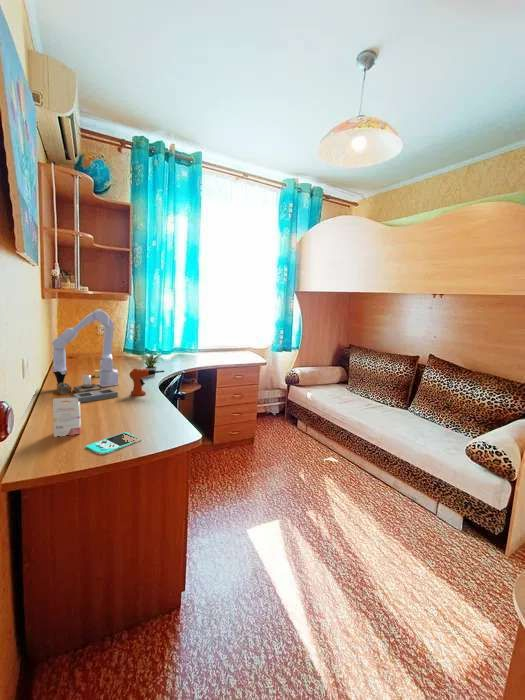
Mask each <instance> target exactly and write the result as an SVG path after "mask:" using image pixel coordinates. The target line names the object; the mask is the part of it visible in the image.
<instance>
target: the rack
mask: <svg viewBox="0 0 525 700" xmlns="http://www.w3.org/2000/svg"><path fill="white" fill-rule="evenodd" d="M118 395H119V392H118V391H116V390H115V389H113V388H105V389H101V390H97V391H91V392H84V393H74V394H73V398H76V397H77V398H78V402H80V404H82V402H83V403H88V402H94V401H101V400H106V399H107V400H108V399H113V398H118Z"/></svg>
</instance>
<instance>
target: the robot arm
mask: <svg viewBox="0 0 525 700" xmlns="http://www.w3.org/2000/svg"><path fill="white" fill-rule="evenodd" d="M96 321H97V322H99V323H100V324H101V325H102V326H103V340H102V341H103V344H102V354H101V358H100V360H99V365H100V369H99V370H100V377H99V382H98V383H96V385H97V386H99V387H100V388H106V387H113V386H119V371H118V369H116V368H115V369H114V367H115V365H114V362H113V345H114V344H113V343H114V342H113V341H114V328H115V324H114V322H113V320H112V319H111V317H110V316H109V314H108V313H107V312H106V311H104V310H103V309H99V308H98V309H95V310H93V312H90V313H89V314H87V315H86V316H85V317H83V318H82V319H81V320H80V321H79V322H78V323H76V325H74V326H73V327H68V328H65V329H64V331H63V332H62V333H61V334H60V335H57V337H56V338H54V339H53V341H52V346H53V349H52V359H53V360H52V361H53V365H52V366H53V368H50V370H51V371H53V372H52V373H53V374H54V377H55V379H56V384H59V383H65V382H64V381H65V378H66V375H67V356H66V355H67V354H66V347H67V344H69V343H71V342H72V341H73V340H74V339H76V338H77V337H78V334H79V332H80V331H81V330H82V329H83V328H85V327H86V326H88V325H89V324H90V323H96Z"/></svg>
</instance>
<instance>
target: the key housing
mask: <svg viewBox="0 0 525 700" xmlns="http://www.w3.org/2000/svg"><path fill="white" fill-rule="evenodd" d="M63 383H64V384H65V385H67V386H68V387H62V386H61V385H59V384H58V383H56V391H57V390H58V391H59V394H61V395H68V394H67V393H69V394H72V386H70V385H69V383H67V382H63ZM58 391H57V392H58Z"/></svg>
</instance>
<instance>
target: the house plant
mask: <svg viewBox="0 0 525 700" xmlns="http://www.w3.org/2000/svg"><path fill="white" fill-rule="evenodd" d="M148 354H149V357H147V355H145V354H143V356H142V357H143V358H144V359H145V361H143V362H142V364H145V365H146V366H145V368H144V369H147V370H155V371H157V366H156V365H155V364H157V363H158V364H160V361H159V362H158V358H159V357H160V354H158V355H156V356H155V357H154V352H152V354H151V353H150V352H149V353H148ZM154 365H155V366H154ZM154 377H156V373H155V374H154V375H149V376H147V377H146V378H154Z"/></svg>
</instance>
